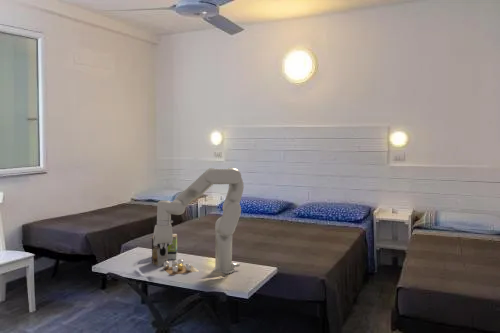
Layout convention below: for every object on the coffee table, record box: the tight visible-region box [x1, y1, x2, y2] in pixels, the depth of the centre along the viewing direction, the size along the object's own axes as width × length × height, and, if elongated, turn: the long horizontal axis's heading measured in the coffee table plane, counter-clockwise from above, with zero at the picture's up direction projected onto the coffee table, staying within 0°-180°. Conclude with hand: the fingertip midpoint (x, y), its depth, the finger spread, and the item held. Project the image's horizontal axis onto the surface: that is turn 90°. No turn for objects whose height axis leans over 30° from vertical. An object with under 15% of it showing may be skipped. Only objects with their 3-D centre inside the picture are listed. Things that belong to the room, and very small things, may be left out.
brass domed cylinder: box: [175, 263, 183, 271], centre depth 243 cm, size 4×4×3 cm
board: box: [162, 264, 200, 276], centre depth 244 cm, size 17×15×1 cm
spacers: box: [163, 258, 192, 275], centre depth 243 cm, size 12×14×4 cm
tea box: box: [151, 233, 178, 260], centre depth 273 cm, size 15×10×15 cm
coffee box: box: [151, 237, 169, 267], centre depth 255 cm, size 9×6×16 cm
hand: (162, 255), depth 239 cm, fingers closed
